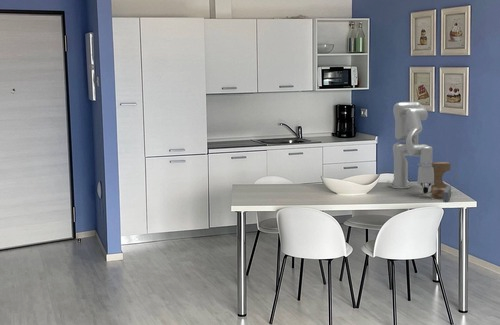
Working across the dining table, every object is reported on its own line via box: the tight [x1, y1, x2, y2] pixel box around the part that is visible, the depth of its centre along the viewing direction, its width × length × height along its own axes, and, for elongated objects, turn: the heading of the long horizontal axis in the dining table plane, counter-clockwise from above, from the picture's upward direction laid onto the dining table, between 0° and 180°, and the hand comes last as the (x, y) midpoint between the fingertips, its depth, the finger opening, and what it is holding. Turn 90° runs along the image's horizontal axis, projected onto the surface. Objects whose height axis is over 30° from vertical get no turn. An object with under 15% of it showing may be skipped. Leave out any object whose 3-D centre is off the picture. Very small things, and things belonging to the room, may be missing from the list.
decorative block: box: [430, 161, 451, 193], centre depth 463 cm, size 11×6×20 cm, turn 96°
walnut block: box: [431, 187, 445, 200], centre depth 447 cm, size 8×8×6 cm
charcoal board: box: [442, 185, 452, 203], centre depth 445 cm, size 2×24×6 cm, turn 160°
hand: (425, 193), depth 449 cm, fingers closed
